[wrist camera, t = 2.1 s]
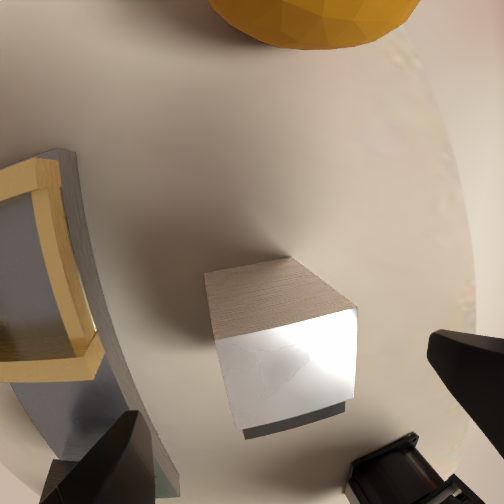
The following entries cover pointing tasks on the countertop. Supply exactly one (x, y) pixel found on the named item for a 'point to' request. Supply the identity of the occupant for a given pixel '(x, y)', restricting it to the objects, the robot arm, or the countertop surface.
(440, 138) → the countertop surface
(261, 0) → the apple
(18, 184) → the rail
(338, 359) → the white block
